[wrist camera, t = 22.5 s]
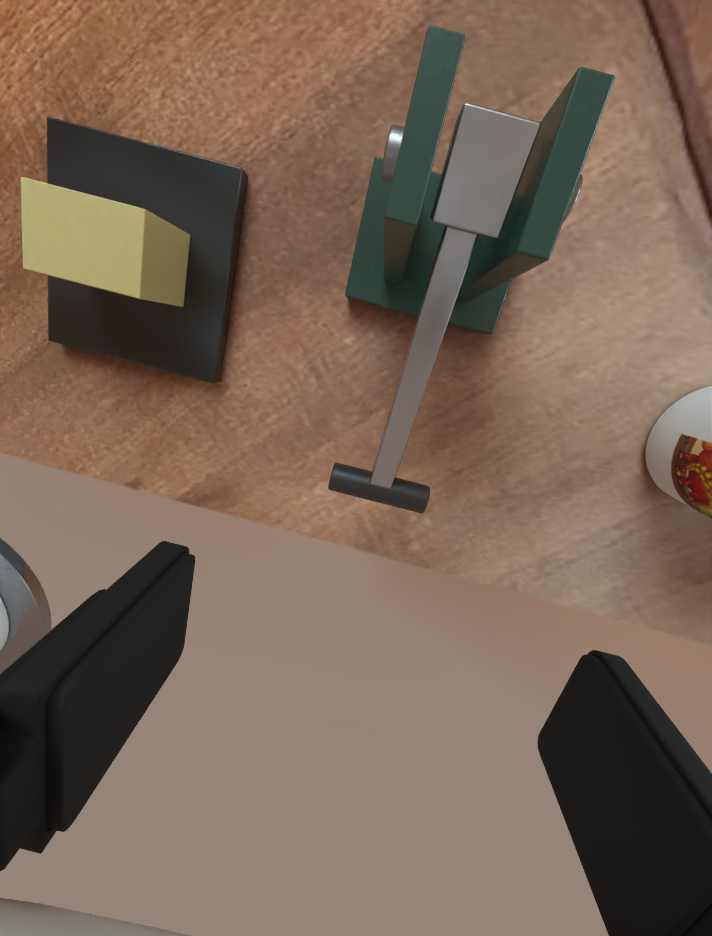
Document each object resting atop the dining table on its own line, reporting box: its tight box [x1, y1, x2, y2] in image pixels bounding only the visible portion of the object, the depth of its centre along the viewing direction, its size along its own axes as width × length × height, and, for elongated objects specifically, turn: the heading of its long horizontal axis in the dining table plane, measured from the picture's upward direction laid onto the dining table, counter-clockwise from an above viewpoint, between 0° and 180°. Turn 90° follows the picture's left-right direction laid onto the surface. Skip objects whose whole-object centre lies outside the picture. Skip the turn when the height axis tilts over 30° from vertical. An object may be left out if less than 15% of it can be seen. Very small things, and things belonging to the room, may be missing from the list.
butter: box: [21, 177, 190, 307], centre depth 21 cm, size 4×6×4 cm, turn 76°
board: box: [47, 117, 247, 383], centre depth 23 cm, size 12×11×1 cm
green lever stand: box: [345, 25, 615, 335], centre depth 17 cm, size 7×9×13 cm
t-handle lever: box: [328, 103, 541, 513], centre depth 16 cm, size 15×5×2 cm, turn 166°
